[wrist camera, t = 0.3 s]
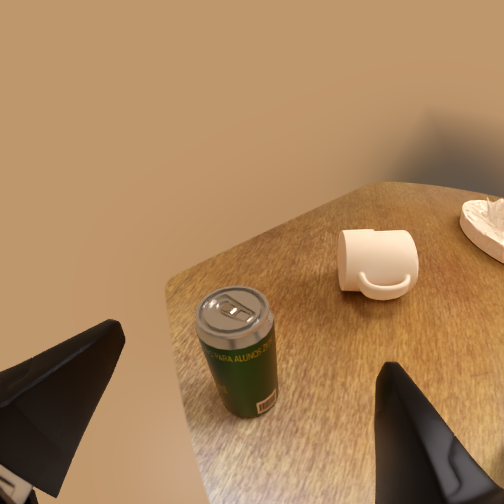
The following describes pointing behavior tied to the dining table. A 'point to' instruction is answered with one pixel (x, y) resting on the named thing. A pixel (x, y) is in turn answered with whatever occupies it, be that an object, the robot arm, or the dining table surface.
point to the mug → (377, 263)
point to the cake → (485, 226)
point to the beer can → (240, 348)
